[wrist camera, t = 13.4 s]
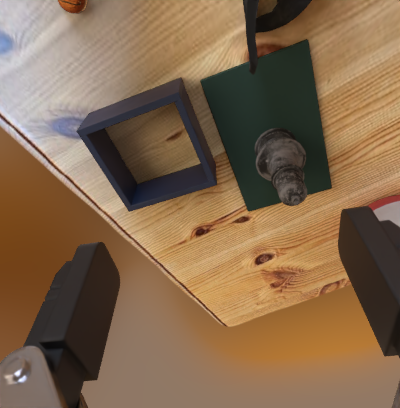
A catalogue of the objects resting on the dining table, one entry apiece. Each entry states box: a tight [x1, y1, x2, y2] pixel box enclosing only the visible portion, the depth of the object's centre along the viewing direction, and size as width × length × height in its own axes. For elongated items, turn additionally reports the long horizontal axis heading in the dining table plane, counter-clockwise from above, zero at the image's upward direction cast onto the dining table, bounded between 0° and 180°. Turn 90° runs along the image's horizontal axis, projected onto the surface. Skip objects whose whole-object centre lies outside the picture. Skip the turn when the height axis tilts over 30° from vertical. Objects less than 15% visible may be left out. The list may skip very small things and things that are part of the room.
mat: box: [201, 39, 332, 211], centre depth 41 cm, size 20×12×1 cm, turn 21°
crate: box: [77, 78, 217, 212], centre depth 40 cm, size 12×12×5 cm
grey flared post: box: [255, 128, 307, 206], centre depth 37 cm, size 6×6×12 cm
